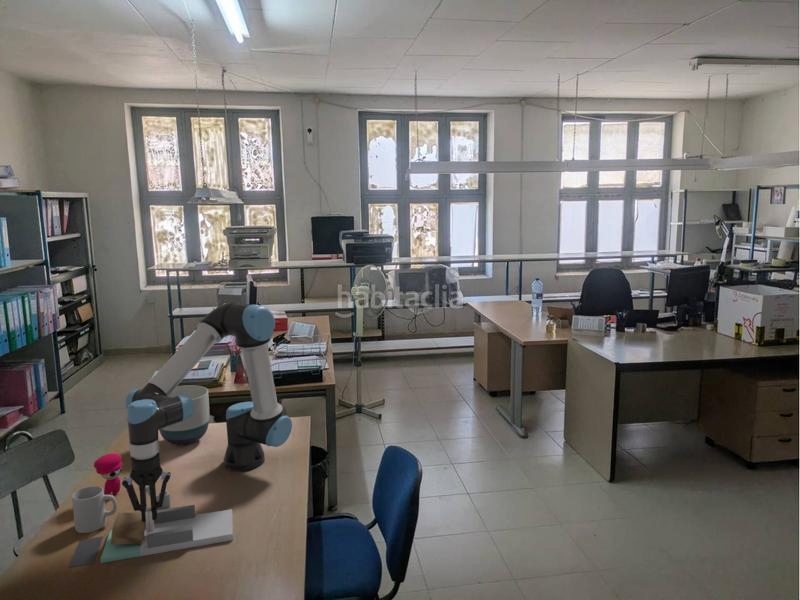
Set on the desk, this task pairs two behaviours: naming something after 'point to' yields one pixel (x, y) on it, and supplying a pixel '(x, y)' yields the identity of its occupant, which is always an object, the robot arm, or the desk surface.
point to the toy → (109, 472)
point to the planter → (192, 426)
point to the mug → (91, 509)
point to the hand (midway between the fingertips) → (150, 529)
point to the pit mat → (86, 552)
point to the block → (128, 529)
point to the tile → (119, 551)
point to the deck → (186, 530)
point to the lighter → (166, 497)
